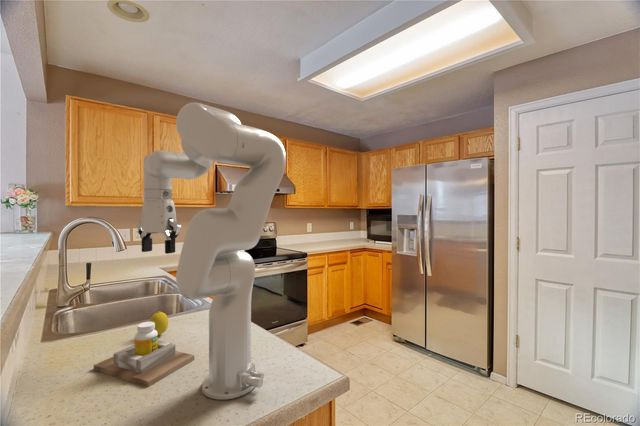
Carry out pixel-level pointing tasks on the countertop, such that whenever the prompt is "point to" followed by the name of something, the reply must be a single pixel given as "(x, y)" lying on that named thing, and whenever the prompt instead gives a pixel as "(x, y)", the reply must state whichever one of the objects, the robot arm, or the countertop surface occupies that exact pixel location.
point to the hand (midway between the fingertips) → (158, 252)
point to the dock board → (148, 374)
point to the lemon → (160, 322)
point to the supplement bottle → (146, 339)
